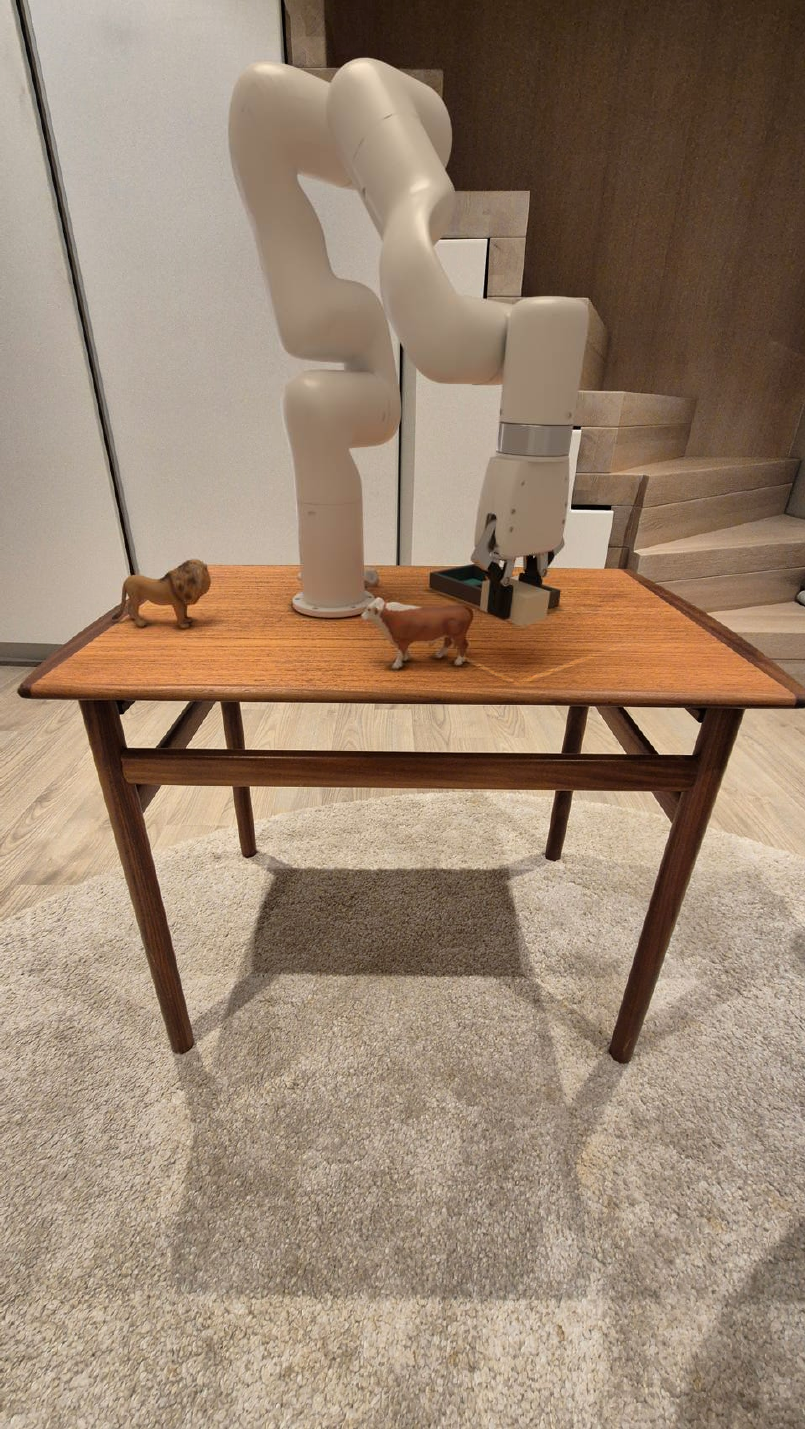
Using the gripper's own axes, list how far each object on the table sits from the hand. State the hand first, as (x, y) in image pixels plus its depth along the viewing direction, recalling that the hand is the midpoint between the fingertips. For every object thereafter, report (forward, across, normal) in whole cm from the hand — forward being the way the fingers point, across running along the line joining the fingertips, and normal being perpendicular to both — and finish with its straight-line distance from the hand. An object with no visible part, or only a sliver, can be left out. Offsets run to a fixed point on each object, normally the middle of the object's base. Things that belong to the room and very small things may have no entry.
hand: (512, 610), depth 71 cm
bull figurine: (+7, +9, -6) cm, 13 cm away
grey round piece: (+8, -4, -36) cm, 37 cm away
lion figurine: (+8, +29, -38) cm, 49 cm away
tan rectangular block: (0, 0, 0) cm, 0 cm away
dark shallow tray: (+7, -16, -19) cm, 26 cm away
